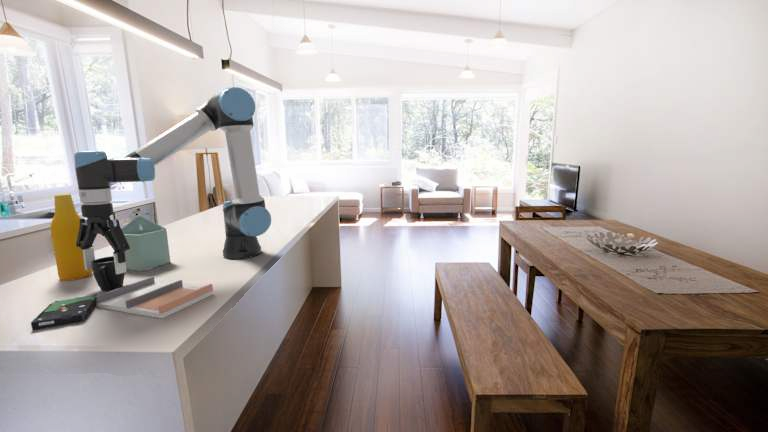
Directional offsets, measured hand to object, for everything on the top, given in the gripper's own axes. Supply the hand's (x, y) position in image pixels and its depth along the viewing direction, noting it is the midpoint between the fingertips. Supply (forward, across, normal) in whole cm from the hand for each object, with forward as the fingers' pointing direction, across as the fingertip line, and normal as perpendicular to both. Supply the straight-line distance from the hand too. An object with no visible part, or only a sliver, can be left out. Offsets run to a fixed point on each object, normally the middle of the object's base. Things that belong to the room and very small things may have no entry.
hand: (105, 271), depth 112 cm
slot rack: (+6, +23, -2) cm, 24 cm away
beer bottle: (+7, -26, +6) cm, 27 cm away
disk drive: (+7, +8, -16) cm, 19 cm away
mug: (+7, 0, 0) cm, 7 cm away
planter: (+6, -11, +20) cm, 24 cm away
